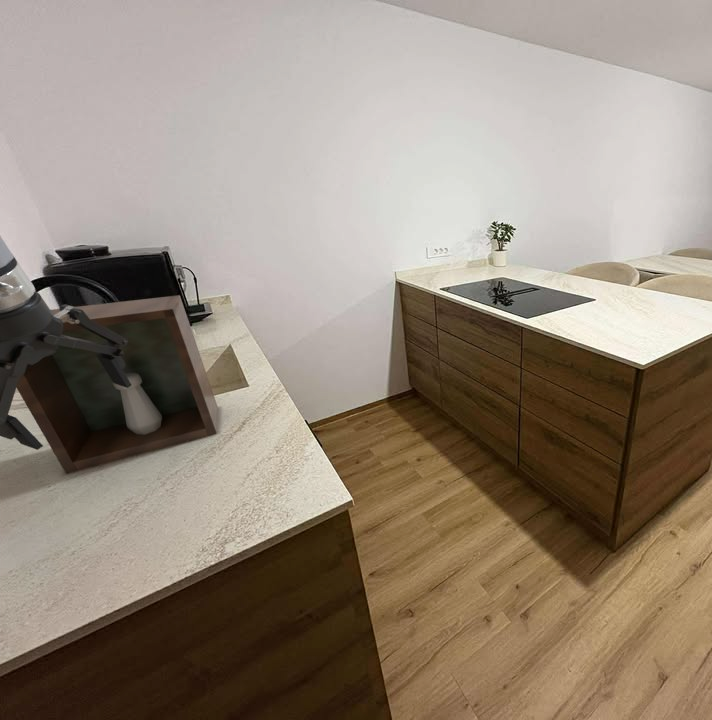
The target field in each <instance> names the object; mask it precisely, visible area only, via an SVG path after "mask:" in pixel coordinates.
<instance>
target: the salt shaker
mask: <svg viewBox="0 0 712 720" xmlns="http://www.w3.org/2000/svg"><path fill="white" fill-rule="evenodd" d="M125 375H126V376H127V378H128V380H129V381H130V383H131V386H130V387H128V388H126V387H123V386H120V385H117V384H115V383H113V385H114V387H115V388H116V389H118V390H120V391H121V396H122V402H123V407H124V413H125V418H126V424H127V427H128V428H129V429H130V430H131V431H133V432H134V433H136V434H142V435H145V434H148V433H151V432H154V431H156V430H157V429H158V428H159V427H161V421H162V415H161V414H160V412H159V411H158V409H157V408H156V407H155V405H154V404H153V403H152V401H151V400H150V398H149V397H148V396H147V394H146V393H145V391H144V390H143V389H142V387H141V386H140V384H141V383H142V379H141V377H140V376H139V374H137V373H127V374H125Z"/></svg>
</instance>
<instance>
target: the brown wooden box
mask: <svg viewBox="0 0 712 720" xmlns="http://www.w3.org/2000/svg"><path fill="white" fill-rule="evenodd" d="M74 307H75V308H78V309H81V310H83V311H84V312H85V314H86V315H87V316H88V317H89V319H90V320H92V321H94V322H96V323H98V324H100V325H101V326H103V327H105V328H107V329H109V330H111V331H112V332H114V333H116V334H118V335H120V336H122V337H123V338H125V339H127V340H128V344H127V345H126V346H122V347H121V348H120V350H123V351H124V354H123V355H122V356H121V357H122V359H123V361H124V362H125V367H124V368H122V370H123V371H124V373H125V374H127V373H137V374H139V376H140V377H141V379H142V383H141V384H140V386H141V387H142V389H143V390H144V391H145V393H146V394H147V396H148V397H149V398H150V400H151V401H152V403H153V404H154V405H155V407H156V408H157V409H158V411H159V412H160V414H161V415H162V421H161V427H159V428H158V429H157V430H156V431H154V432H151V433H148V434H145V435H142V434H136V433H134V432H133V431H131V430H130V429H129V428H128V427H127V424H126V418H125V413H124V407H123V402H122V396H121V391H120V390H118V389H116V388H115V387H114V385H113V381H112V380H111V378H110V376H109V375H108V373H107V372H106V370H105V369H104V367H103V366H102V364H101V362H100V361H99V359H98V358H97V356H96V355H97V354H99V352H93V351H88V350H83V349H78V348H70V347H65V346H59V347H58V348H57V350H56V351H57V352H56V353H54V354H52V355H49V356H46V357H43V358H42V359H41V360H40V361H38V362H37V363H35V364H33V365H30V364H28V365H27V367H26V370H25V373H24V375H23V376H20V378H19V381H18V384H17V387H16V390H17V391H18V393H19V395H20V396H21V399H22V400H23V402H24V404H25V405H26V407H27V409H28V410H29V412H30V414H31V416H32V417H33V419H34V421H35V422H36V424H37V426H38V428H39V429H40V431H41V433H42V434H43V437H44V438H45V440H46V442H47V443H48V445H49V447H50V448H51V450H52V452H53V454H54V456H55V457H56V459H57V461H58V462H59V464H60V466H61V468H62V469H63V471H64V473H65V474H66V475H68V474H71V473H74V472H78V471H82V470H86V469H90V468H94V467H97V466H100V465H105V464H108V463H112V462H116V461H120V460H123V459H127V458H131V457H134V456H138V455H142V454H146V453H149V452H153V451H157V450H162V449H165V448H168V447H169V448H170V447H173V446H176V445H180V444H184V443H187V442H191V441H196V440H199V439H202V438H208V437H210V436H211V437H212V436H214V435H217V434H218V421H219V407H218V404H217V400H216V398H215V395H214V391H213V389H212V385H211V383H210V379H209V377H208V374H207V370H206V367H205V366H204V361H203V359H202V356H201V354H200V353H201V352H200V351H199V347H198V345H197V342H196V339H195V335H194V333H193V329H192V327H191V324H190V321H189V318H188V315H187V313H186V310H185V307H184V303H183V301H182V298H181V295H179V294H178V295H170V296H161V297H152V298H143V299H134V300H126V301H125V300H124V301H117V302H107V303H99V304H98V303H97V304H89V305H81V306H80V305H79V306H74ZM50 310H51V312H52V313H53V315H55V314H57V313H58V312H60V308H54V309H50ZM62 335H64V336H69V337H73V338H78V339H83V340H87V341H92V342H97V343H101V344H106V343H107V342H108V340H106V339H104V338H102V337H100V336H98V335H96V334H94V333H92V332H90V331H88V330H86V329H84V328H82V327H80V326H78V325H76V324H70V323H67V322H63V331H62ZM7 365H8V366H11V365H12V364H11V363H7Z"/></svg>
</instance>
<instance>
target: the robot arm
mask: <svg viewBox="0 0 712 720" xmlns="http://www.w3.org/2000/svg"><path fill="white" fill-rule="evenodd" d="M75 307H76V306H73V305H69V304H67V303H65V304H61V305H60V306H59V309H60V312H58V313H57V314H55V315H53V313H52V312H51V310H52V309H51V308H50V307H49V306H48V304H47V302H46V301H45V300H44V298H43V296H42V295H41V294H40V292H38V291H36V288H35V285H34V284H33V282H32V281H31V279H30V278H29V276H28V275H27V273H26V272H25V270H24V269H23V267H22V266H21V264H20V263H19V262H18V260H17V259H16V257H15V255H13V253H12V251H11V250H10V248H9V246H8V245H7V243H6V242H5V241H4V239H3V238H2V236H1V235H0V437H2V438H5V439H7V440H13V439H16V441H18V443H20V444H21V445H23V446H26V447H28V448H31V449H33V450H37V451H38V450H40V449H41V448H43V447H44V445H43V444H42V443H41V441H39V440H38V439H37V438H36V436H35V435H33V434H32V432H30V430H29V429H28V428H27V427H26V426H25V425H24V424H23V423H22V422H21V421H20V420H19V419H18V418H17V417H16V416H13V415H10V414H9V413H10V409H11V406H12V403H13V400H14V397H15V394H16V390H17V388H16V387H17V384H18V381H19V378H20V376H23V375H24V373H25V370H26V367H27V365H28V364H30V365H33V364H35V363H37V362H38V361H40V360H41V359H42V358H43V357H46V356H49V355H52V354H54V353H56V352H57V351H56V350H57V348H58V347H59V346H65V347H70V348H78V349H83V350H88V351H93V352H99V354H97V355H96V356H97V358H98V359H99V361H100V362H101V364H102V366H103V367H104V369H105V370H106V372H107V373H108V375H109V376H110V378H111V380H112V381H113V383H115V384H117V385H120V386H123V387H126V388H128V387H130V386H131V383H130V381H129V380H128V378H127V376H126V375H125V373H124V371H123V370H122V368H124V367H125V362H124V361H123V359H122V357H121V356H122V355H123V354H124V351H123V350H120V348H121V347H122V346H126V345H127V344H128V340H127V339H125V338H123V337H122V336H120V335H118V334H116V333H114V332H112V331H111V330H109V329H107V328H105V327H103V326H101V325H100V324H98V323H96V322H94V321H92V320H90V319H89V317H88V316H87V315H86V314H85V312H84V311H83V310H81V309H78V308H75ZM63 322H67V323H70V324H76V325H78V326H80V327H82V328H84V329H86V330H88V331H90V332H92V333H94V334H96V335H98V336H100V337H102V338H104V339H106V340H108V342H107V343H106V344H101V343H97V342H92V341H87V340H83V339H78V338H73V337H69V336H64V335H62V331H63ZM7 363H11V364H12V365H11V366H8V365H7Z"/></svg>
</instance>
